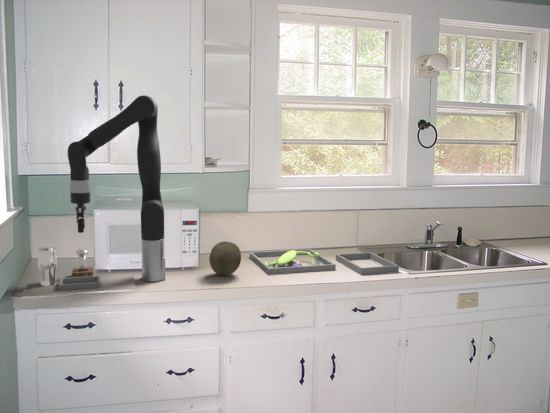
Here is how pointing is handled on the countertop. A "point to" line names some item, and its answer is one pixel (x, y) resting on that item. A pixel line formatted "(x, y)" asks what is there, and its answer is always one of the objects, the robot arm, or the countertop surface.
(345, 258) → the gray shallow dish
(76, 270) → the pin block
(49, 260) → the beer glass
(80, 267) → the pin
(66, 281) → the tray
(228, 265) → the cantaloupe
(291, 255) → the figurine
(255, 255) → the grey open box
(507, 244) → the countertop surface
